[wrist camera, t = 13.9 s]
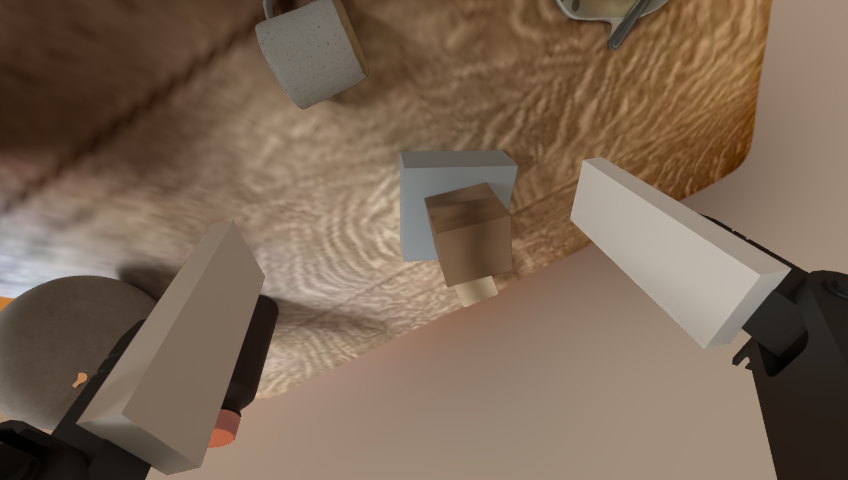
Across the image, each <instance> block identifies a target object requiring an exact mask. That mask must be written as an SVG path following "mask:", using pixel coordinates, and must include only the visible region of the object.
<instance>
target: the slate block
mask: <svg viewBox="0 0 848 480" xmlns="http://www.w3.org/2000/svg"><path fill="white" fill-rule="evenodd" d="M517 170H518V165H517V164H516V163H515V162H514V161H513V160H512V159H511V158H510V157H509V156H508V155H507V154H506V153H505V152H504V151H503V150H461V151H400V242H401V247H402V253H403V259H404V262H409V261H424V260H438V256H437V252H436V249H435V246H434V241H433V237H432V232H431V228H430V223H429V219H428V214H427V210H426V205H425V201H424V198H426V197H430V196H434V195H438V194H442V193H446V192H449V191H453V190H457V189H461V188H465V187H469V186H473V185H477V184H481V183H485V182H486V183H487V184H488V185H489V187H490V188H491V189H492V191H493V192H494V193H495V195H496V196H497V197H498V199H499V200H500V201H501V203H502V204H503V205H504V207H505V208H506V209H507V211H508V209H509V204H510V200H511V196H512V191H513V187H514V183H515V178H516V174H517Z"/></svg>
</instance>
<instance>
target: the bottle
mask: <svg viewBox="0 0 848 480" xmlns="http://www.w3.org/2000/svg"><path fill="white" fill-rule="evenodd" d="M278 313H279V311H278V307H277V305H276V303H274V302H273V301H272V300H271V299H268V298H266V297H263V296H259V297H258V300H257V303H256V305H255V308H254V311H253V314H252V317H251V320H250V323H249V326H248V329H247V332H246V335H245V338H244V341H243V344H242V347H241V350H240V353H239V356H238V359H237V362H236V365H235V368H234V371H233V374H232V377H231V379H230V382H229V385H228V388H227V391H226V394H225V397H224V400H223V403H222V406H221V409H220V412H219V415H218V418H217V421H216V424H215V427H214V430H213V433H212V436H211V439H210V442H209V445H208V447H210V448H212V447H220V446H225V445H227V444H229V443H231V442H232V441H233V440H234V439H235V436H236V433H237V429H238V426H239V423H240V417H241V413H240V410H242V409H243V408H245V407H246V406H247V405H249V404H250V403H251V402H252V401H253V400H254V398H255V395H256V392H257V389H258V385H259V381H260V378H261V374H262V371H263V367H264V363H265V360H266V356H267V353H268V349H269V346H270V342H271V338H272V335H273V331H274V328H275V324H276V321H277V317H278Z"/></svg>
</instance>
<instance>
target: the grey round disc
mask: <svg viewBox="0 0 848 480" xmlns="http://www.w3.org/2000/svg"><path fill="white" fill-rule="evenodd" d="M156 305H157V302H156V301H155V300H154V299H152V298H151V297H150V296H149V295H148V294H146V293H145V292H143V291H142V290H140V289H138V288H137V287H135V286H133V285H130V284H128V283H125V282H123V281H119V280H116V279H112V278H107V277H101V276H70V277H63V278H59V279H55V280H51V281H49V282H46V283H43V284H41V285H38V286H36V287H34V288H32V289H30V290H28V291H27V292H25V293H23V294H21V295H20V296H18V297H17V298H15V299H14V300H13V301H12V302H10V303H9V304H8V305H7V306H6V307H5V308H4V309H3V310H2V311H0V411H1V412H2V413H4V414H5V415H7V416H9V417H11V418H13V419H15V420H18V421H24V422H26V423H28V424H30V425H31V426H34V427H37V428H42V429H48V430H54V429H55V428H56V427H57V425H58V424H59V423H60V421H61V420H62V418H63V417H64V416H65V414H66V413H67V411H68V410H69V409H70V407H71V406H72V404H73V403H74V402H75V400H76V399H77V397H78V396H79V395H80V393H81V392H82V391H83V389H84V388H85V386H86V385H87V384H88V382H89V381H90V379H91V378H92V377H93V375H96V374H97V370H98V368H99V367H100V365H101V364H102V363H103V361H104V360H105V359H108V354H109V353H110V352H111V350H112V349H113V347H114V346H115V345H116V343H117V342H118V340H119V339H120V338H121V337H122V336H123V335H124V334H125V333H126V332H127V331H128V330H129V329H130V328H132V327H133V326H134V325H135V324H136V323H137V322H138V321H139V320H142V319H147V318H148V316H149V315H150V313H151V312H152V311H153V309H154V308H155V306H156ZM81 372H83V373H86V374H87V380H86V381H85V382H83V383H81V384H79V385H78V386H77V388H74V387H73V386H72V385H73V384H74V383H75V382H76V381H77V378H78V373H81Z"/></svg>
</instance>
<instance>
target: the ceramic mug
mask: <svg viewBox="0 0 848 480" xmlns="http://www.w3.org/2000/svg"><path fill="white" fill-rule="evenodd" d="M263 6H264V12H265V15H266V19H267V20H265V21H263V22H260V23H258V24H257V25H256V28H255V30H256V36H257V39H258V42H259V45H260V47H261V49H262V52H263V54H264V56H265V58H266V61H267V63H268V65H269V66H270V68H271V70H272V72H273V74H274V75H275V77H276V78H277V80H278V82H279V83H280V85H281V86H282V88H283V90H284V91H285V93H286V94H287V96H288V97H289V98H290V99H291V101H292V102H293V103H295V104H296V106H298V107H299V108H301V109H306V108H308V107H310V106H312V105H314V104H316V103H318V102H321V101H323V100H325V99H327V98H329V97H331V96H333V95H335V94H337V93H339V92H341V91H343V90H345V89H348V88H350V87H352V86H354V85H356V84H358V83H359V82H360V81H362V80H363V79H365V78H366V77H367V76H368V74H369V66H368V64H367V61H366V59H365V57H364V54H363V52H362V49H361V47H360V44H359V42H358V39H357V37H356V35H355V32H354V30H353V28H352V25H351V23H350V20H349V18H348V15H347V13H346V11H345V8H344V6H343V3H342V2H341V1H340V0H317V1H314V2H312V3H309V4H307V5H305V6H303V7H301V8H298V9H295V10H292V11H290V12H287V13H284V14H281V15H279V16H276V17H274V16H273V11H272V0H263Z"/></svg>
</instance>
